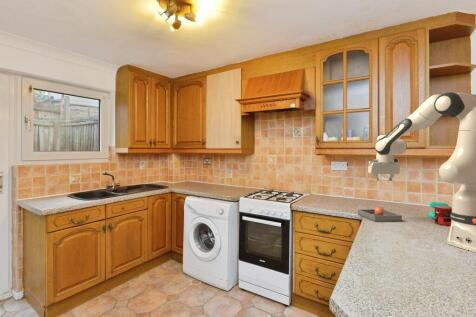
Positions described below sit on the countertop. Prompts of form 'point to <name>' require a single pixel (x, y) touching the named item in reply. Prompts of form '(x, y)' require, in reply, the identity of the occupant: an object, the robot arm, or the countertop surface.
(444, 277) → the countertop surface
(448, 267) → the countertop surface
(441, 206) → the canned food
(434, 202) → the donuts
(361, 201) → the countertop surface
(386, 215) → the grey bin
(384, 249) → the countertop surface
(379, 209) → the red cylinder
